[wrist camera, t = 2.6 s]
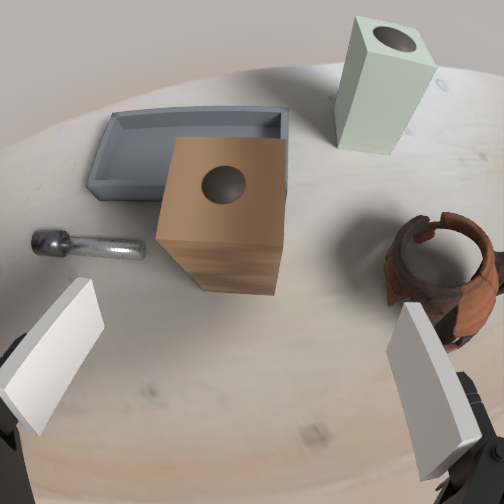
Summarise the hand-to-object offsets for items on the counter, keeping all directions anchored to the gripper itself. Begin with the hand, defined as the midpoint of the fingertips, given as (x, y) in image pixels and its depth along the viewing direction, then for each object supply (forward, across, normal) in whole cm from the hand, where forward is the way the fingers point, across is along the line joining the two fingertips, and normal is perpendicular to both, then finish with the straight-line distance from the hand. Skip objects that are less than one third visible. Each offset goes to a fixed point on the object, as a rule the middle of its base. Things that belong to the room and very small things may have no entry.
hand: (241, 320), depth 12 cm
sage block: (+20, +9, +6) cm, 22 cm away
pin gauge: (+10, -14, -3) cm, 18 cm away
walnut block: (+11, -1, -3) cm, 11 cm away
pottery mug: (+10, +15, -4) cm, 18 cm away
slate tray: (+16, -6, +3) cm, 18 cm away
